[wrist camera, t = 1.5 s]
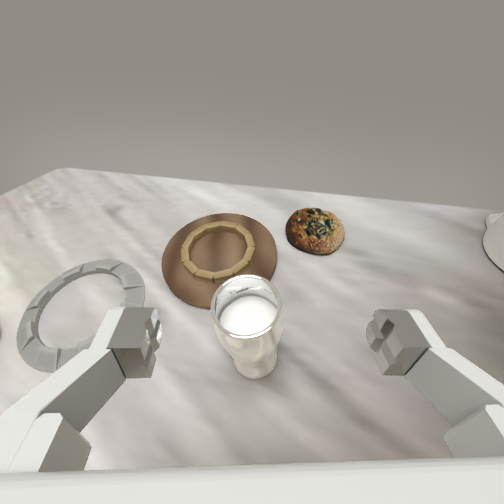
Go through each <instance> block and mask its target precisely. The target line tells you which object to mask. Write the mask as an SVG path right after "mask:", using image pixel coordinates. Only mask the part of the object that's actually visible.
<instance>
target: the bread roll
mask: <svg viewBox="0 0 504 504" xmlns="http://www.w3.org/2000/svg"><path fill="white" fill-rule="evenodd" d="M286 235H287V239H288V242H290V243H291V244H292V245H293V246H294V247H296V248H297V249H299V250H301V251H304V252H308V253H311V252H313V253H315V254H318V255H327V254H331V253H332V252H333V251H336V250H338V247H339V245H340V244H341V243H342V241H343V239H344V237H345V232H344V227H343V225H342V223H341V221H340V220H339V219H338V218H337V217H336V216H335V215H334V214H333V213H331V212H327V211H323V210H320V209H318V208H316V209H315V208H306V209H301V210H297V211H295V212H294V214H292V216H291V217H290V218H289V220H288V221H287V224H286Z"/></svg>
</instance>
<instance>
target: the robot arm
mask: <svg viewBox="0 0 504 504" xmlns="http://www.w3.org/2000/svg"><path fill="white" fill-rule="evenodd" d="M485 221H486V226H487V230H486V232H485V234H484V237H483V246H484V249H485V251H486V253H487V254H488V256H489V257H490V259H491V260H492V261H493V262H494V263H495V264H496V265H497V266H498V267H499V268H500V269H502V270H503V271H504V211H503V212H502V213H495V214H490V215H489V216H488V217H487V218H486V220H485ZM158 315H159V313H158V310H157V308H142V307H111V308H110V309H109V310H108V311H107V313H106V315H105V317H104V319H103V321H102V323H101V325H100V327H99V329H98V331H97V333H96V335H95V337H94V339H93V341H92V343H91V345H90V347H89V349H83V350H82V351H81V352H80V353H78V354H77V355H76V356H75V357H73V358H72V359H71V360H69V361H68V362H67V363H66V364H64V365H63V366H62V367H61V368H59V369H58V370H57V371H55V372H54V373H53V374H52V375H50V376H49V377H48V378H47V379H45V380H44V381H43V382H41V383H40V384H39V385H38V386H36V387H35V388H34V389H32V390H31V391H30V392H29V393H27V394H26V395H25V396H24V397H22V398H21V399H20V400H18V401H17V402H16V403H15V404H13V405H12V406H11V407H10V408H8V409H7V410H6V411H4V412H3V414H2V415H1V417H0V504H504V385H503V384H502V383H500V382H499V381H497V380H496V379H495V378H493V377H492V376H490V375H489V374H487V373H486V372H484V371H483V370H482V369H480V368H479V367H477V366H476V365H474V364H473V363H471V362H470V361H469V360H467V359H466V358H464V357H463V356H461V355H460V354H459V353H457V352H456V351H454V350H453V349H451V348H447V347H446V346H445V345H444V343H443V342H442V340H441V339H440V337H439V336H438V335H437V333H436V332H435V330H434V329H433V328H432V326H431V325H430V323H429V322H428V320H427V319H426V318H425V316H424V315H423V313H422V312H421V311H419V310H403V309H378V310H377V311H375V313H374V315H373V317H374V320H373V321H371V322H370V323H369V324H368V326H367V328H366V338H367V342H368V344H369V346H370V348H371V349H373V350H374V351H375V352H376V355H375V360H376V362H377V364H378V367H379V369H380V371H381V373H382V375H399V376H405V378H406V379H407V380H408V381H409V382H410V383H411V384H412V385H413V386H414V387H415V388H416V389H417V390H418V391H419V392H420V393H421V394H422V395H423V396H424V397H425V398H426V399H427V400H428V401H429V402H430V403H431V404H432V405H433V406H434V407H435V408H436V409H437V410H438V411H439V412H440V413H441V414H442V415H443V416H444V417H445V418H446V419H447V420H448V421H449V422H450V423H451V424H452V425H453V426H454V427H453V428H451V429H450V430H449V431H447V432H446V433H445V434H444V436H443V438H444V440H445V442H446V444H447V446H448V448H449V450H450V451H451V453H452V455H453V457H454V458H429V459H400V460H372V461H343V462H315V463H286V464H257V465H229V466H200V467H172V468H143V469H115V470H86V471H83V470H84V467H85V465H86V462H87V459H88V456H89V453H90V450H91V446H90V443H89V442H88V441H87V440H86V439H85V438H84V437H83V436H82V435H81V434H80V432H81V431H82V430H83V428H84V427H85V426H86V425H87V424H88V423H89V422H90V420H91V419H92V418H93V417H94V416H95V415H96V414H97V412H98V411H99V410H100V409H101V408H102V407H103V406H104V404H105V403H106V402H107V401H108V400H109V399H110V398H111V396H112V395H113V394H114V393H115V392H116V391H117V390H118V388H119V387H120V386H121V385H122V384H123V383H124V382H125V380H126V378H151V376H152V372H153V369H154V365H155V361H156V357H155V354H154V352H155V351H156V350H157V349H158V348H159V346H160V342H161V336H162V326H161V322H160V321H159V320H157V318H158Z"/></svg>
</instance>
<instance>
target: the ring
mask: <svg viewBox="0 0 504 504" xmlns="http://www.w3.org/2000/svg"><path fill="white" fill-rule="evenodd" d="M94 273H108V274H112V275H115V276H117V277H118V278H120V279H121V281H122V284H123V288H124V289H125V300H124V302H121V305H120V307H142V308H143V304H144V299H145V287H144V283H143V280H142V278H141V276H140V274H139V273H138V272H137V271H136V269H134V268H133V267H132V266H130V265H129V264H127V263H124V262H122V261H117V260H98V261H92V262H88V263H85V264H81V265H79V266H76V267H74V268H72V269H70V270H68V271H66V272H64V273H63V274H61V275H60V276H58V277H57V278H55V279H54V280H53V281H51V282H50V283H49V284H48V285H47V286H45V287H44V288H43V289H42V290H41V291H40V292H39V293H38V294H37V295H36V296H35V298H34V299H33V300H32V301H31V303H30V304H29V306H28V307H27V309H26V311H25V313H24V314H23V317H22V319H21V321H20V324H19V328H18V332H17V347H18V351H19V353H20V355H21V357H22V358H23V360H24V361H25V362H26V363H27V364H28V365H30V366H31V367H33V368H35V369H37V370H40V371H44V372H52V373H54V372H55V371H57V370H58V369H59V368H61V367H62V366H63V365H64V364H66V363H67V362H68V361H69V360H71V359H72V358H73V357H75V356H76V355H77V354H78V353H80V352H81V351H82V350H83V349H89V347H90V345H91V343H92V341H93V339H94V337H95V335H96V334H95V335H94V336H92V337H91V338H89V339H87V340H85V341H84V342H81V343H79V344H78V347H75V348H71V349H64V350H61V349H59V348H50V347H47V346H45V345H44V344H43V343H42V341H41V340H40V337H39V334H38V323H39V319H40V316H41V313H42V311H43V309H44V308H45V306H46V305H47V303H48V302H49V300H50V299H51V298H52V297H53V296H54V295H55V294H56V293H57V292H58V291H59V290H60V289H62V288H63V287H64V286H66V285H67V284H69V283H70V282H72V281H74V280H76V279H78V278H80V277H83V276H86V275H89V274H94Z"/></svg>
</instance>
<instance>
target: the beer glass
mask: <svg viewBox="0 0 504 504" xmlns="http://www.w3.org/2000/svg"><path fill="white" fill-rule="evenodd" d="M211 315H212V318H213V322H214V326H215V330H216V333H217V335H218V338H219V340H220V342H221V344H222V346H223V347H224V348H225V350H226V351H227V352H228V353H229V354H230V355H231V356H232V357H233V363H234V366H235V368H236V369H237V371H238V372H239V373H240V374H241V375H243V376H245V377H247V378H250V379H259V378H263V377H265V376H266V375H268V374H269V373H270V372H271V371H272V370H273V368H274V367H275V365H276V362H277V349H276V348H277V346H278V343H279V341H280V338H281V335H282V328H283V314H282V301H281V297H280V294H279V292H278V290H277V288H276V287H275V286H274V285H273V284H272V283H271V282H270V281H268V280H267V279H265V278H263V277H261V276H258V275H252V274H243V275H238V276H235V277H232V278H230V279H228V280H227V281H225V282H224V283H223V284H221V285H220V286H219V288H218V289H217V290H216V292H215V293H214V295H213V298H212V301H211Z"/></svg>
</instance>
